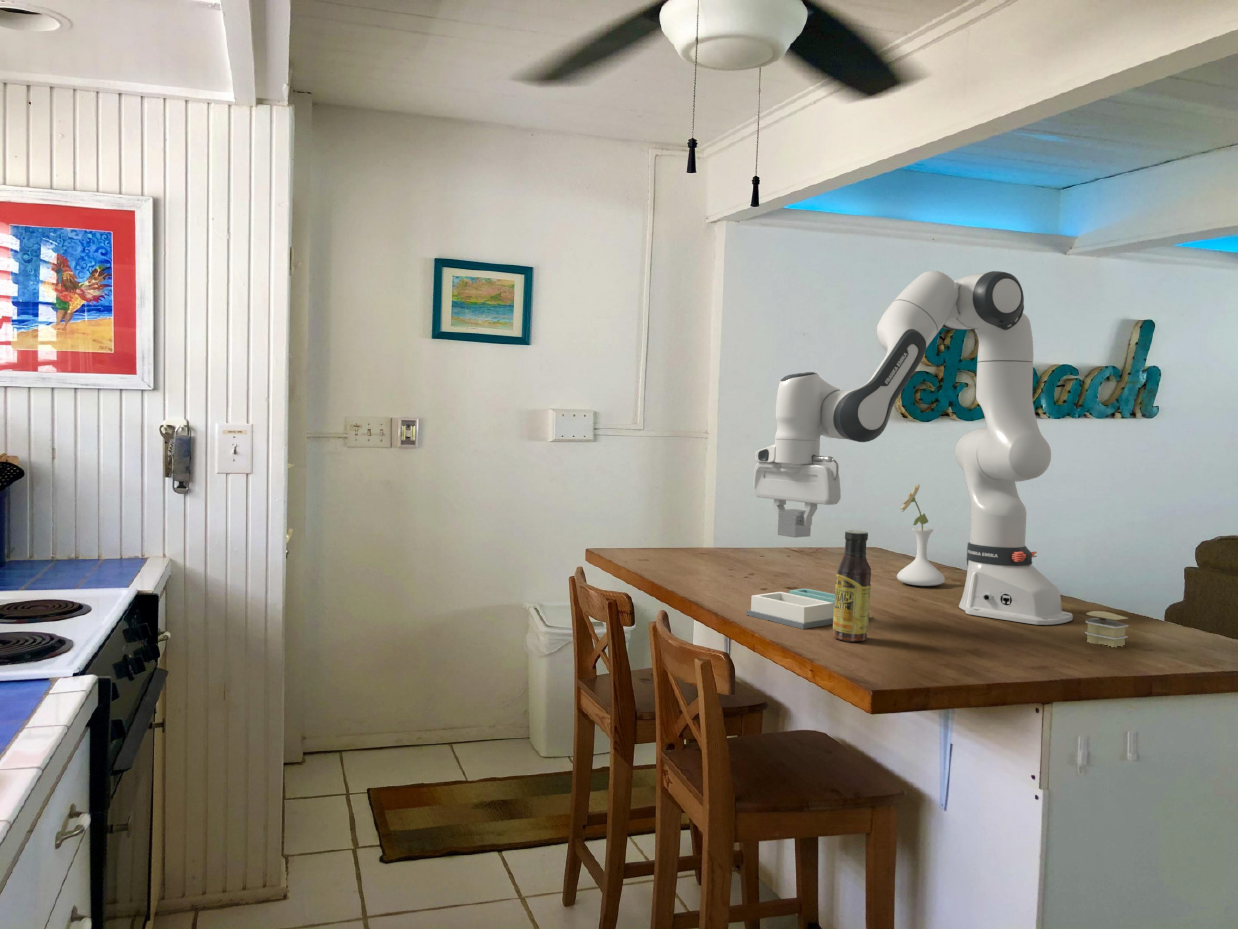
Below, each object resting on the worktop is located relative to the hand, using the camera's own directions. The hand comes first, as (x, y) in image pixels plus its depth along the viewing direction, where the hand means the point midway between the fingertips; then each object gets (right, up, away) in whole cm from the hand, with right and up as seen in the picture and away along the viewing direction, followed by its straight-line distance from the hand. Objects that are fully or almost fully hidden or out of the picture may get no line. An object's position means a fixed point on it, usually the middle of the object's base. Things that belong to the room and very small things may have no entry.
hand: (794, 524), depth 192 cm
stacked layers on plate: (+55, -22, -13) cm, 60 cm away
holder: (+3, -19, +4) cm, 20 cm away
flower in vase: (+39, -18, +45) cm, 62 cm away
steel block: (0, -2, 0) cm, 2 cm away
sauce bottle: (+7, -20, -16) cm, 27 cm away
